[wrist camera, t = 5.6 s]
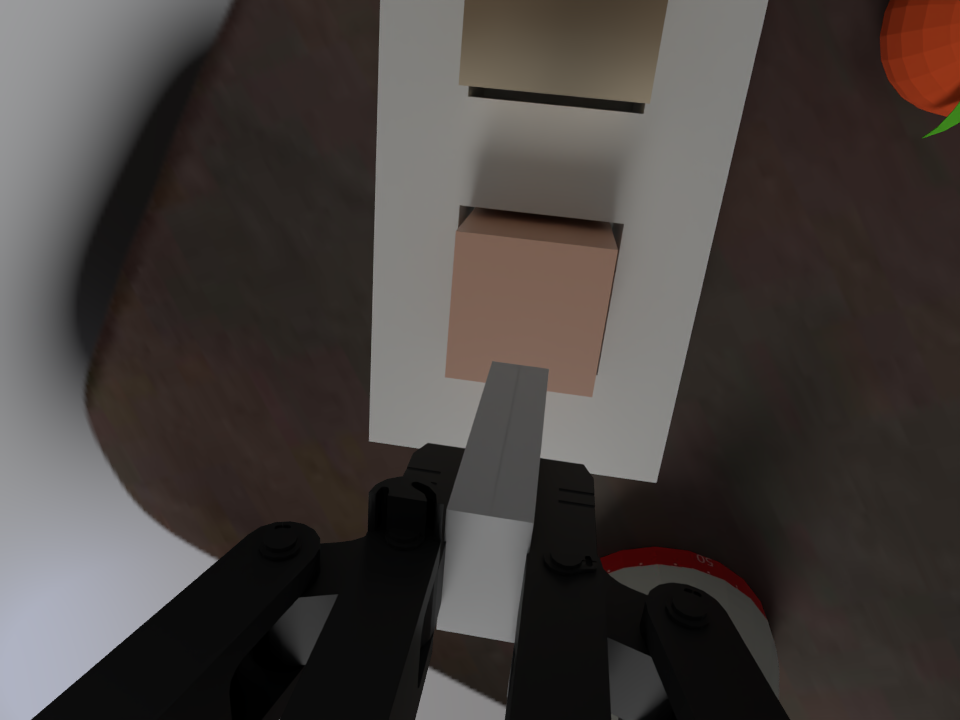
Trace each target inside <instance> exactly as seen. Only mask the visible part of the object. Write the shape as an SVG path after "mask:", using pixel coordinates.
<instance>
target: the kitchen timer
mask: <svg viewBox="0 0 960 720" xmlns="http://www.w3.org/2000/svg"><path fill="white" fill-rule="evenodd" d="M600 560H601V563H602V566H603V569H604V570H605V571H606V572H607V573H608V574H609V575H610V576H611V577H613V578H614V579H615V580H617V581H618V582H620V583H621V584H623V585H625V586H627V587H629V588H632V589H634V590H636V591H639V592H641V593H644V594H646V595H648V594H649V591H650V590H652V589H653V588H655V587H656V586H658V585H659V584H665V583H671V582H674V583H681V584H688V585H690V586H693V587H696V588H698V589H701V590H703V591H705V592H706V593H707V594H709V595H710V596H712V597H713V598H715V599H716V600H717V601H718V602H719V603H720V604H721V606H722V607H723V608H724V609H725V610H726V612H727V613H728V615H729V617H730V618H731V620H732V622H733V624H734V625H735V627H736V629H737V630H738V632H739V634H740V635H741V637H742V639H743V641H744V642H745V644H746V646H747V647H748V649H749V651H750V652H751V654H752V656H753V658H754V659H755V661H756V663H757V664H758V666H759V668H760V669H761V671H762V673H763V675H764V676H765V678H766V680H767V681H768V683H769V685H770V686H771V688H772V690H773V692H774V693H775V695H776V697H777V698H778V700H779V662H778V655H777V651H776V646H775V643H774V640H773V636H772V633H771V630H770V627H769V623H768V620H767V618H766V615H765V612H764V609H763V607H762V604H761V601H760V600H759V599H758V597H757V596H756V595H755V594H754V592H753V591H752V590H751V588H750V587H749V586H748V584H747V583H746V582H745V580H744V579H742V578H741V577H740V576H738V575H737V574H735V573H734V572H732V571H731V570H730V569H728V568H727V567H725V566H724V565H723V564H721V563H720V562H718V561H715V560H712V559H710V558H707V557H704V556H701V555H699V554H696V553H693V552H691V551H687V550H679V549H670V548H662V547H647V548H638V549H629V550H621V551H618V552H616V553H613V554H610V555H607V556H605V557H602V558H600ZM611 720H618V717H617V716H615V715H613V714H611Z"/></svg>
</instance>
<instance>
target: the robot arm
mask: <svg viewBox="0 0 960 720" xmlns="http://www.w3.org/2000/svg"><path fill="white" fill-rule="evenodd" d="M548 374H549V369H546V368H539V367H532V366H524V365H517V364H510V363H502V362H495V361H492V364H491V367H490V370H489V373H488V377H487V380H486V383H485V386H484V390H483V393H482V396H481V399H480V403H479V406H478V409H477V412H476V415H475V419H474V422H473V425H472V428H471V432H470V435H469V438H468V441H467V445H466V448H459V447H453V446H446V445H439V444H433V443H427V444H425V445H424V446H423V447H421V448H420V449H418V450H417V451H416V452H414V453H413V455H412V457H411V460H410V462H409V464H408V466H407V469H406V471H405V473H404V475H403V477H396V478H391V479H386V480H384V481H382V482H380V483H378V484H376V485H375V486H374V487H373V488H372V489H371V491H370V492H369V508H368V532H367V534H366V536H365V537H362V538H359V539H356V540H353V541H346V542H337V543H322V544H320V538H319V536H318V535H317V533H316V532H315V530H314V529H312V528H310V527H308V526H307V525H305V524H301V523H296V522H291V521H290V522H275V523H272V524H268V525H265V526H262V527H260V528H258V529H256V530H255V531H253V532H252V533H250V534H248V535H247V536H246V537H245V538H244V539H243V540H241V541H240V542H239V543H238V544H237V545H236V546H234V547H233V548H232V549H231V550H230V551H228V552H227V553H226V554H225V555H224V556H223V557H221V558H220V559H219V560H218V561H217V562H216V563H215V564H213V565H212V566H211V567H210V568H209V569H207V570H206V571H205V572H204V573H203V574H202V575H200V576H199V577H198V578H197V579H196V580H195V581H193V582H192V583H191V584H190V585H189V586H188V587H186V588H185V589H184V590H183V591H182V592H180V593H179V594H178V595H177V596H176V597H175V598H174V599H172V600H171V601H170V602H169V603H167V604H166V605H165V606H164V607H163V608H162V609H160V610H159V611H158V612H157V613H156V614H155V615H153V616H152V617H151V618H150V619H149V620H148V621H146V622H145V623H144V624H143V625H142V626H140V627H139V628H138V629H137V630H136V631H135V632H133V634H131V635H130V636H129V637H128V638H126V639H125V640H124V641H123V642H122V643H121V644H119V645H118V646H117V647H116V648H115V649H113V650H112V651H111V652H110V653H109V654H108V655H106V656H105V657H104V658H103V659H102V660H101V661H100V662H99V663H97V664H96V665H95V666H94V667H92V668H91V669H90V670H89V671H88V672H87V673H86V674H84V675H83V676H82V677H81V678H80V679H78V680H77V681H76V682H75V683H74V684H72V685H71V686H70V687H69V688H68V689H67V690H65V691H64V692H63V693H62V694H61V695H60V696H58V697H57V698H56V699H55V700H54V701H52V702H51V703H50V704H49V705H48V706H47V707H46V708H44V709H43V710H42V711H41V712H40V713H38V714H37V715H36V716H35V717H34V718H33V719H32V720H279V719H280V720H415V718H416V713H417V710H418V706H419V702H420V698H421V694H422V690H423V686H424V682H425V678H426V674H427V670H428V666H429V662H430V658H431V654H432V646H433V633H434V629H435V625H436V621H437V629H438V630H444V631H450V632H455V633H461V634H467V635H473V636H478V637H484V638H490V639H495V640H501V641H507V642H512V643H514V650H513V657H512V664H511V671H510V678H509V684H508V691H507V697H508V698H507V706H506V715H505V720H611V714H613V715H615V716H617V717H618V720H790V719H789V717H788V715H787V714H786V712H785V710H784V709H783V707H782V705H781V704H780V702H779V700H778V698H777V697H776V695H775V693H774V692H773V690H772V688H771V686H770V685H769V683H768V681H767V680H766V678H765V676H764V675H763V673H762V671H761V669H760V668H759V666H758V664H757V663H756V661H755V659H754V658H753V656H752V654H751V652H750V651H749V649H748V647H747V646H746V644H745V642H744V641H743V639H742V637H741V635H740V634H739V632H738V630H737V629H736V627H735V625H734V624H733V622H732V620H731V618H730V617H729V615H728V613H727V612H726V610H725V609H724V608H723V607H722V606H721V604H720V603H719V602H718V601H717V600H716V599H715V598H713V597H712V596H710V595H709V594H707V593H706V592H705V591H703V590H701V589H698V588H696V587H693V586H690V585H688V584H681V583H674V582H671V583H665V584H659V585H658V586H656V587H655V588H653V589H652V590H650V591H649V594H648V595H646V594H644V593H641V592H639V591H636V590H634V589H632V588H629V587H627V586H625V585H623V584H621V583H620V582H618V581H617V580H615V579H614V578H613V577H611V576H610V575H609V574H608V573H607V572H606V571H605V570H604V569H603V566H602V563H601V560H600V558H599V557H598V556H597V545H596V522H595V509H594V508H595V499H594V479H593V477H592V476H591V474H590V473H589V471H588V470H587V469H586V467H585V466H584V464H578V463H571V462H564V461H557V460H551V459H544V458H540V455H541V445H542V435H543V425H544V414H545V404H546V394H547V384H548ZM437 617H438V618H437Z"/></svg>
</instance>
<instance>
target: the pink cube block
mask: <svg viewBox="0 0 960 720" xmlns="http://www.w3.org/2000/svg"><path fill="white" fill-rule="evenodd" d="M617 253H618V248H617V245H616V242H615V239H614V235H613V232H612V229H611V225H610V222H604V221H595V220H586V219H577V218H568V217H560V216H551V215H542V214H533V213H524V212H515V211H507V210H498V209H489V208H480V207H475V209H474V210H473V211H472V212H471V213H470V215H469V216H468V217H467V218H466V219H465V221H464V222H463V223H462V224H461V225H460V227H459V228H458V229H457V230H456V235H455V248H454V262H453V275H452V288H451V302H450V315H449V328H448V342H447V355H446V369H445V377H447V378H454V379H461V380H469V381H476V382H483V383H486V380H487V377H488V373H489V370H490V367H491V364H492V361H495V362H502V363H510V364H517V365H524V366H532V367H539V368H546V369H549V374H548V384H547V391H550V392H557V393H564V394H572V395H579V396H586V397H592V396H593V390H594V384H595V379H596V373H597V367H598V361H599V356H600V350H601V344H602V339H603V333H604V327H605V322H606V316H607V310H608V304H609V299H610V293H611V287H612V282H613V276H614V270H615V264H616V259H617Z"/></svg>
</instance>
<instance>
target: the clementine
mask: <svg viewBox="0 0 960 720" xmlns="http://www.w3.org/2000/svg"><path fill="white" fill-rule="evenodd" d="M880 49H881V61H882V64H883V67H884V70H885V72H886V75H887V78H888V81H889V82H890V83H891V84H892V86H893V87H894V88H895V90H896V91H897V92H898V93H899V95H900V96H901V97H902V98H904V99H905V100H907V101H908V102H910V103H911V104H913V105H915V106H916V107H918V108H920V109H922V110H925V111H928V112H931V113H935V114H939V115H942V116H946V118H945V119H944V120H943V122H942V123H941V124H940V125H939V126H938V127H936V128H935V129H934V130H932V131H931V132H929V133H928V134H926V135H925V136H924V137H922V138H925V137H928V136H931V135H934V134H936V133H939V132H942V131H945V130H947V129H949V128H950V127H952V126H954V125H956V124H957V123H959V122H960V0H890V1H889V4H888V6H887V8H886V10H885V13H884V18H883V23H882V28H881V33H880Z"/></svg>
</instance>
